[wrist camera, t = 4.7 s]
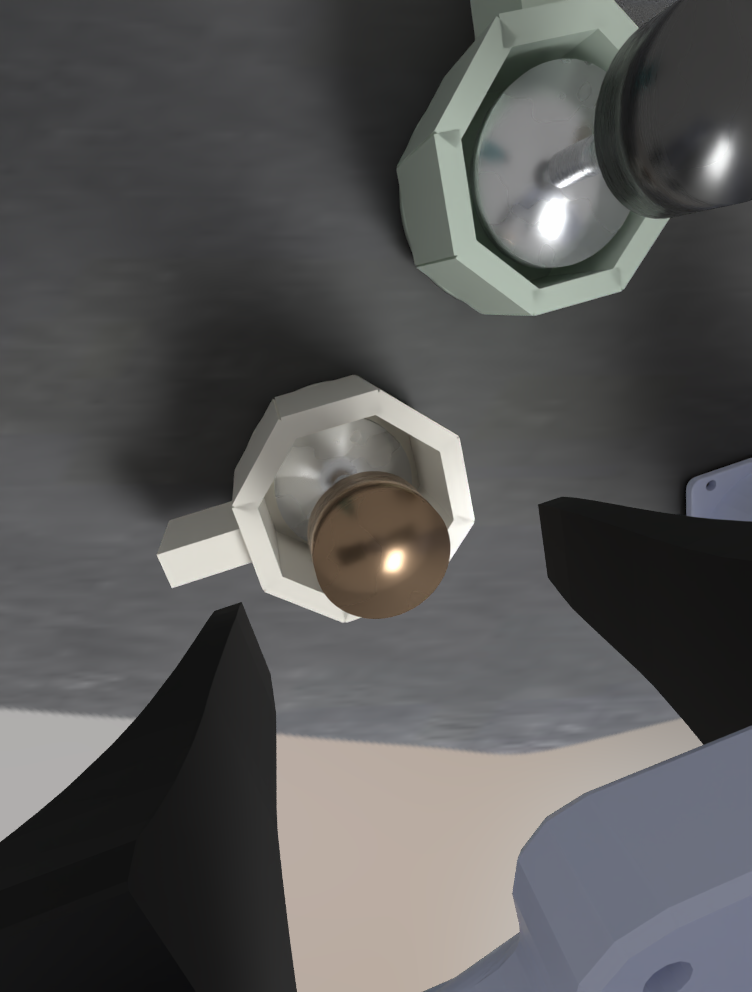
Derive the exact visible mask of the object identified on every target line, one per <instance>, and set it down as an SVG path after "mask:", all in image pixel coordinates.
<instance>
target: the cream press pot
mask: <svg viewBox="0 0 752 992" xmlns="http://www.w3.org/2000/svg"><path fill="white" fill-rule="evenodd" d="M363 418H367V419H369V420H372V421H374V422H376V423H377V424H379V425H381V426H382V427H384V428H385V429H386V430H387V431H388V432H389V433H390V434H392V435H393V436H394V437H395V438H396V439H397V441H398V442H399V443H400V444H401V446H402V448H403V449H404V451H405V453H406V455H407V457H408V460H409V463H410V467H411V473H412V486H414V487H415V489H416V490H417V491H418V492H419V493H420V494H421V495H422V496H423V497H424V498H425V499H426V500H427V501H428V502H429V504H430V505H431V506H432V507H433V508H434V509H435V510H436V511H437V512H438V513H439V515H440V516H441V518H442V519H443V521H444V523H445V525H446V527H447V530H448V533H449V537H450V559H449V561H450V560H451V558H452V556H453V555H454V553H455V552H456V550H457V549H458V547H459V546H460V544H461V542H462V541H463V539H464V538H465V536H466V535H467V533H468V532H469V530H470V528H471V527H472V525H473V524H474V520H475V518H474V513H473V508H472V502H471V497H470V491H469V486H468V481H467V475H466V470H465V464H464V459H463V454H462V448H461V443H460V438H459V437H458V435H456V434H454V433H453V432H451V431H449V430H448V429H446V428H444V427H443V426H441V425H439V424H438V423H436V422H435V421H433V420H431V419H430V418H428V417H426V416H425V415H423V414H421V413H420V412H418V411H416V410H415V409H413V408H411V407H410V406H408V405H406V404H405V403H403V402H401V401H399V400H398V399H396V398H394V397H393V396H391V395H389V394H388V393H386V392H384V391H383V390H381V389H379V388H378V387H376V386H374V385H373V384H371V383H369V382H367V381H366V380H364V379H362V378H361V377H359V376H357V375H351V376H347V377H344V378H340V379H337V380H333V381H324V382H319V383H315V384H311V385H308V386H306V387H303V388H300V389H298V390H296V391H294V392H291V393H287V394H284V395H280V396H277V397H275V399H272V401H271V403H270V405H269V406H268V408H267V410H266V412H265V414H264V416H263V418H262V419H261V420H260V422H259V423H258V425H257V427H256V428H255V430H254V431H253V433H252V436H251V438H250V440H249V442H248V445H247V448H246V450H245V451H244V453H243V455H242V457H241V459H240V461H239V463H238V465H237V466H236V468H235V471H234V485H233V498H232V501H231V502H227V503H224V504H221V505H218V506H214V507H211V508H208V509H205V510H201V511H198V512H195V513H191V514H188V515H185V516H182V517H178V518H175V519H172V520H169V523H168V525H167V528H166V531H165V534H164V536H163V539H162V542H161V545H160V547H159V550H158V553H157V557H158V559H159V561H160V563H161V565H162V567H163V570H164V572H165V574H166V576H167V578H168V581H169V583H170V585H171V587H172V588H174V587H177V586H180V585H183V584H186V583H189V582H192V581H195V580H199V579H202V578H205V577H208V576H211V575H214V574H217V573H220V572H223V571H226V570H230V569H233V568H236V567H239V566H242V565H245V564H248V563H251V562H252V563H253V565H254V568H255V570H256V573H257V576H258V578H259V581H260V584H261V586H262V589H263V590H264V591H265V592H266V593H269V594H271V595H274V596H276V597H279V598H282V599H284V600H287V601H289V602H292V603H294V604H297V605H299V606H302V607H304V608H307V609H310V610H312V611H315V612H317V613H320V614H322V615H325V616H327V617H330V618H332V619H335V620H338V621H340V622H343V623H344V621H345V622H346V623H347V622H350V621H353V620H356V619H358V618H361V617H357V616H354V615H351V614H349V613H347V612H345V611H343V610H341V609H340V608H338V607H336V606H335V605H334V604H333V603H332V602H331V601H330V600H329V599H328V598H327V597H326V595H325V594H324V592H323V591H322V589H321V587H320V585H319V583H318V580H317V576H316V572H315V569H314V565H313V561H312V557H311V553H310V549H309V545H308V542H307V541H305V540H303V539H302V538H301V537H299V536H298V535H297V534H296V533H295V532H293V531H292V530H291V529H290V527H289V526H288V525H287V524H286V522H285V521H284V519H283V517H282V516H281V513H280V511H279V508H278V505H277V501H276V497H275V489H274V478H275V476H276V474H277V473H278V471H279V469H280V467H281V465H282V463H283V462H284V460H285V458H286V456H287V454H288V453H289V451H290V449H291V447H292V445H293V444H294V442H295V440H296V438H299V437H303V436H306V435H309V434H313V433H316V432H319V431H323V430H326V429H330V428H333V427H336V426H340V425H343V424H347V423H350V422H353V421H357V420H360V419H363Z"/></svg>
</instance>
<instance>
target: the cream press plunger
mask: <svg viewBox="0 0 752 992" xmlns="http://www.w3.org/2000/svg"><path fill="white" fill-rule="evenodd" d="M274 489H275V497H276V501H277V505H278V508H279V511H280V513H281V516H282V517H283V519H284V521H285V522H286V524H287V525H288V526H289V527H290V529H291V530H292V531H293V532H295V533H296V534H297V535H298V536H299V537H301V538H302V539H303V540H305V541H307V542H308V545H309V549H310V553H311V557H312V561H313V565H314V569H315V572H316V576H317V580H318V583H319V585H320V587H321V589H322V591H323V592H324V594H325V595H326V597H327V598H328V599H329V600H330V601H331V602H332V603H333V604H334V605H335V606H336V607H338V608H340V609H341V610H343V611H345V612H347V613H349V614H351V615H354V616H357V617H362V618H369V619H381V618H388V617H393V616H396V615H400V614H402V613H405V612H407V611H409V610H411V609H413V608H415V607H416V606H418V605H419V604H421V603H422V602H423V601H424V600H426V599H427V598H428V597H429V596H430V595H431V594H432V593H433V592H434V590H435V589H436V588H437V586H438V585H439V584H440V582H441V580H442V579H443V577H444V575H445V572H446V570H447V567H448V563H449V559H450V537H449V533H448V530H447V527H446V525H445V523H444V521H443V519H442V518H441V516H440V515H439V513H438V512H437V511H436V510H435V509H434V508H433V507H432V506H431V505H430V504H429V502H428V501H427V500H426V499H425V498H424V497H423V496H422V495H421V494H420V493H419V492H418V491H417V490H416V489H415V487H414V486H412V473H411V467H410V463H409V460H408V457H407V455H406V453H405V451H404V449H403V448H402V446H401V444H400V443H399V442H398V441H397V439H396V438H395V437H394V436H393V435H392V434H390V433H389V432H388V431H387V430H386V429H385V428H384V427H382V426H381V425H379V424H377V423H376V422H374V421H372V420H369V419H367V418H363V419H360V420H357V421H353V422H350V423H347V424H343V425H340V426H336V427H333V428H330V429H326V430H323V431H319V432H316V433H313V434H309V435H306V436H303V437H299V438H296V440H295V442H294V444H293V445H292V447H291V449H290V451H289V453H288V454H287V456H286V458H285V460H284V462H283V463H282V465H281V467H280V469H279V471H278V473H277V474H276V476H275V478H274Z"/></svg>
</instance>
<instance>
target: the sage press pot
mask: <svg viewBox="0 0 752 992" xmlns="http://www.w3.org/2000/svg"><path fill="white" fill-rule="evenodd" d="M470 3H471V11H472V18H473V26H474V33H475V41H474V43H473V44H472V45H471V46H470V47H469V48H468V50H467V51H466V52H465V53H464V54H463V55H462V57H461V58H460V59H459V60H458V61H457V62H456V64H455V65H454V66H453V67H452V68H451V69H450V71H449V72H448V73H447V74H446V75H445V76H444V78H443V80H442V82H441V84H440V86H439V88H438V90H437V91H436V93H435V95H434V97H433V99H432V101H431V103H430V105H429V106H428V108H427V110H426V112H425V113H424V114H423V116H422V117H421V119H420V121H419V122H418V124H417V126H416V127H415V129H414V132H413V134H412V136H411V138H410V140H409V143H408V146H407V148H406V150H405V151H404V153H403V155H402V157H401V159H400V161H399V163H398V165H397V167H398V168H397V169H396V171H397V176H398V181H399V201H400V212H401V219H402V224H403V228H404V232H405V236H406V238H407V241H408V244H409V246H410V249H411V251H412V253H413V258H414V263H415V266H416V265H417V267H416V268H417V269H419V270H420V271H421V272H423V273H424V274H426V275H427V276H428V277H429V278H430V279H431V280H432V281H433V282H434V283H435V284H436V285H437V286H438V287H439V288H441V289H442V290H443V291H444V292H446V293H447V294H449V295H451V296H452V297H454V298H456V299H458V300H460V301H463V302H465V303H466V304H468V305H469V306H471V307H472V308H473V309H475V310H476V311H478V312H479V313H480V314H487V315H522V316H536V315H539V314H543V313H547V312H550V311H554V310H557V309H561V308H564V307H568V306H571V305H575V304H578V303H582V302H585V301H589V300H593V299H596V298H600V297H603V296H607V295H610V294H614V293H617V292H621V291H622V290H624V289H625V287H626V285H627V284H628V282H629V281H630V279H631V278H632V276H633V275H634V273H635V271H636V270H637V268H638V267H639V265H640V264H641V262H642V260H643V259H644V257H645V256H646V254H647V253H648V251H649V250H650V248H651V246H652V245H653V243H654V242H655V240H656V239H657V237H658V236H659V234H660V232H661V231H662V229H663V228H664V226H665V225H666V223H667V222H668V220H669V218H666V219H653V218H646V217H643V216H640V215H637V214H636V213H634V212H632V211H630V212H629V214H628V216H627V218H626V220H625V221H624V223H623V225H622V226H621V228H620V229H619V230H618V232H617V233H616V234H615V236H614V237H613V238H612V239H611V240H610V241H609V242H608V243H607V244H606V245H605V246H604V247H603V248H602V249H601V250H599V251H598V252H597V253H595V254H594V255H592V256H591V257H589V258H587V259H585V260H583V261H581V262H578V263H575V264H573V265H568V266H563V267H556V268H544V269H540V268H532V267H528V266H524V265H521V264H519V263H517V262H515V261H512V260H511V259H509V258H508V257H506V256H505V255H504V254H502V253H501V252H500V251H499V250H498V249H497V248H496V247H495V246H494V245H493V243H492V242H491V241H490V240H489V239H488V237H487V235H486V234H485V232H484V231H483V229H482V227H481V225H480V223H479V220H478V218H477V215H476V212H475V209H474V206H473V201H472V196H471V188H470V163H471V155H472V150H473V146H474V142H475V138H476V135H477V133H478V130H479V127H480V125H481V123H482V121H483V119H484V117H485V115H486V113H487V111H488V110H489V108H490V107H491V105H492V104H493V102H494V101H495V100H496V99H497V98H498V96H499V95H500V94H501V93H502V92H503V91H504V90H505V89H506V88H507V87H508V86H510V85H511V84H512V83H513V82H514V81H515V80H517V79H518V78H519V77H520V76H521V75H523V74H524V73H526V72H527V71H529V70H530V69H532V68H534V67H536V66H538V65H540V64H542V63H545V62H548V61H552V60H557V59H578V60H582V61H586V62H589V63H591V64H594V65H596V66H598V67H600V68H601V69H603V70H604V71H606V72H607V70H608V68H609V66H610V64H611V62H612V60H613V58H614V57H615V55H616V54H617V52H618V51H619V49H620V48H621V46H622V45H623V44H624V43H625V42H626V40H627V39H628V38H629V37H630V36H631V35H632V34H633V33H634V32H635V31H636V30H637V29H638V27H637V26H636V24H635V23H634V22H633V21H632V20H631V19H630V18H629V17H628V15H627V14H626V13H625V12H624V11H623V10H622V9H621V8H620V6H619V5H618V4H617V3H616V2H615V1H614V0H470Z"/></svg>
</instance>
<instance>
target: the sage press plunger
mask: <svg viewBox="0 0 752 992" xmlns="http://www.w3.org/2000/svg"><path fill="white" fill-rule="evenodd" d="M470 188H471V196H472V201H473V206H474V209H475V212H476V215H477V218H478V220H479V223H480V225H481V227H482V229H483V231H484V232H485V234H486V235H487V237H488V239H489V240H490V241H491V242H492V243H493V245H494V246H495V247H496V248H497V249H498V250H499V251H500V252H501V253H502V254H504V255H505V256H506V257H508V258H509V259H511V260H512V261H515V262H517V263H519V264H521V265H524V266H528V267H532V268H540V269H544V268H556V267H563V266H568V265H573V264H575V263H578V262H581V261H583V260H585V259H587V258H589V257H591V256H592V255H594V254H595V253H597V252H598V251H599V250H601V249H602V248H603V247H604V246H605V245H606V244H607V243H608V242H609V241H610V240H611V239H612V238H613V237H614V236H615V234H616V233H617V232H618V230H619V229H620V228H621V226H622V225H623V223H624V221H625V220H626V218H627V216H628V214H629V212H630V211H632V212H634V213H636V214H637V215H640V216H643V217H646V218H653V219H666V218H672V217H677V216H681V215H686V214H691V213H696V212H700V211H705V210H710V209H714V208H719V207H724V206H729V205H733V204H738V203H743V202H747V201H750V200H752V0H678V1H676V2H675V3H673V4H672V5H671V6H669V7H668V8H666V9H665V10H664V11H662V12H661V13H659V14H658V15H656V16H655V17H654V18H652V19H651V20H649V21H648V22H647V23H645V24H644V25H642V26H641V27H640V28H638V29H637V30H636V31H635V32H634V33H633V34H632V35H631V36H630V37H629V38H628V39H627V40H626V42H625V43H624V44H623V45H622V46H621V48H620V49H619V51H618V52H617V54H616V55H615V57H614V58H613V60H612V62H611V64H610V66H609V68H608V70H607V72H606V71H604V70H603V69H601V68H600V67H598V66H596V65H594V64H591V63H589V62H586V61H582V60H578V59H557V60H552V61H548V62H545V63H542V64H540V65H538V66H536V67H534V68H532V69H530V70H529V71H527V72H526V73H524V74H523V75H521V76H520V77H519V78H518V79H517V80H515V81H514V82H513V83H512V84H511V85H510V86H508V87H507V88H506V89H505V90H504V91H503V92H502V93H501V94H500V95H499V96H498V98H497V99H496V100H495V101H494V102H493V104H492V105H491V107H490V108H489V110H488V111H487V113H486V115H485V117H484V119H483V121H482V123H481V125H480V127H479V130H478V133H477V135H476V138H475V142H474V146H473V150H472V155H471V163H470Z"/></svg>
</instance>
